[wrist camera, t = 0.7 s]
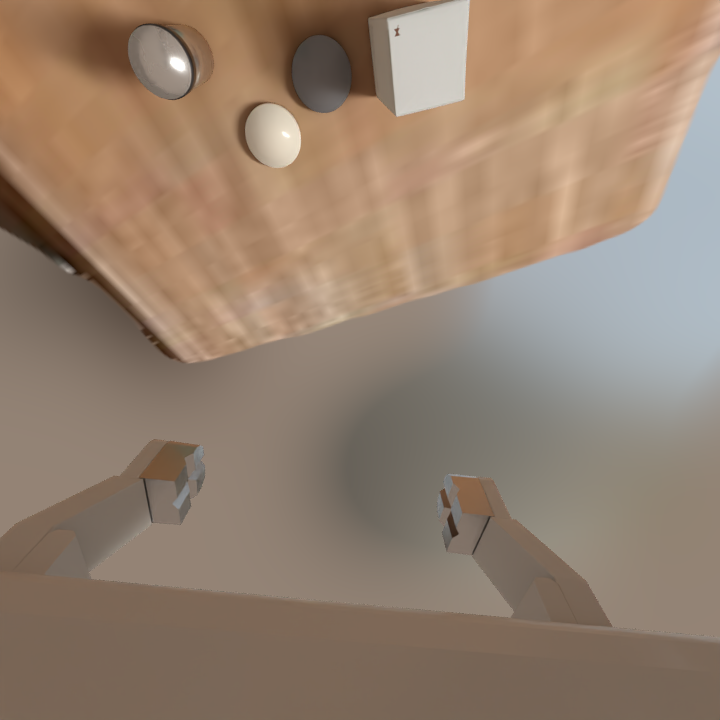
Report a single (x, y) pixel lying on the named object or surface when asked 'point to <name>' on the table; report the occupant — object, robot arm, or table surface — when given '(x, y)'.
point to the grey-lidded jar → (170, 59)
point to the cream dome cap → (273, 135)
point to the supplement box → (420, 55)
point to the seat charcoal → (321, 73)
